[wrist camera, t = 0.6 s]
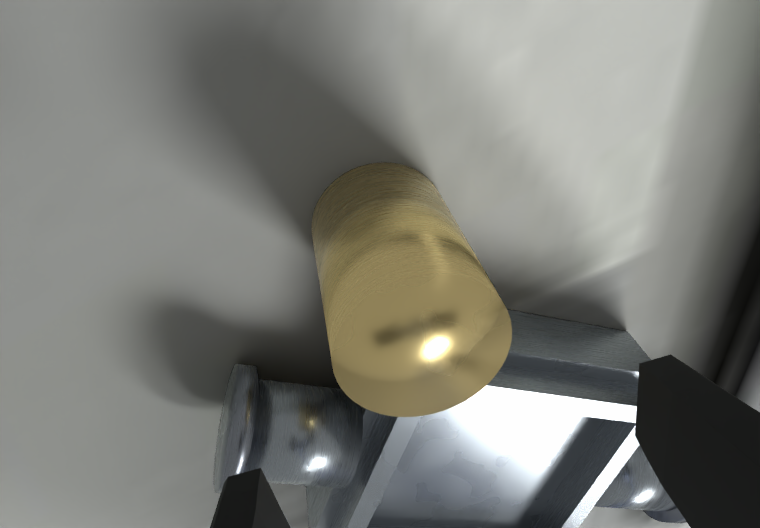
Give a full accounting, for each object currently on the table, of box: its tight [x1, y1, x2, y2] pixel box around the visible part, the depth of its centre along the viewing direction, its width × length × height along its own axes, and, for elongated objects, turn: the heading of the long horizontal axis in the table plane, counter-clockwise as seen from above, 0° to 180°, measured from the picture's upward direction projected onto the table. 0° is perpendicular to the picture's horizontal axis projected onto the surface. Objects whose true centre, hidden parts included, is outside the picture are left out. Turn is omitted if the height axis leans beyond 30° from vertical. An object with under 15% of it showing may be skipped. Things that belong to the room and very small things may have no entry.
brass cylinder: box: [312, 163, 512, 417], centre depth 16 cm, size 4×4×6 cm
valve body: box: [214, 310, 687, 528], centre depth 22 cm, size 18×11×4 cm, turn 71°
